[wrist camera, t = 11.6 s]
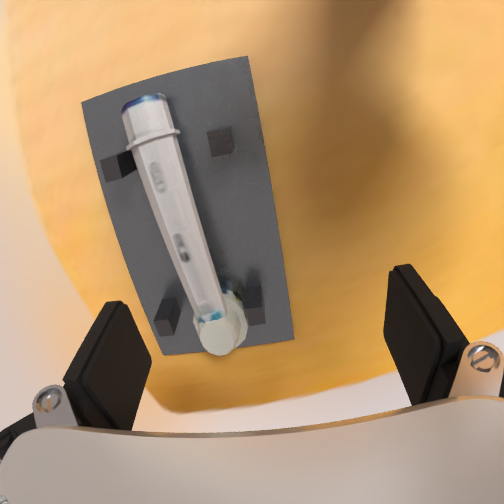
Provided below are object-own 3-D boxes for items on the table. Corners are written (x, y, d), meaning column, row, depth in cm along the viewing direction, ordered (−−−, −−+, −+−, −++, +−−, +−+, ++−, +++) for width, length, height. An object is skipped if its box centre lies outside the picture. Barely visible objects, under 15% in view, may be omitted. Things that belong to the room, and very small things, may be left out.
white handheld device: (163, 86, 22) (253, 367, 29) (183, 99, 28) (254, 330, 35) (104, 111, 22) (200, 376, 29) (134, 117, 29) (209, 340, 36)
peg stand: (85, 102, 26) (59, 103, 22) (247, 57, 25) (247, 47, 20) (164, 349, 39) (156, 378, 34) (293, 334, 38) (298, 363, 33)
